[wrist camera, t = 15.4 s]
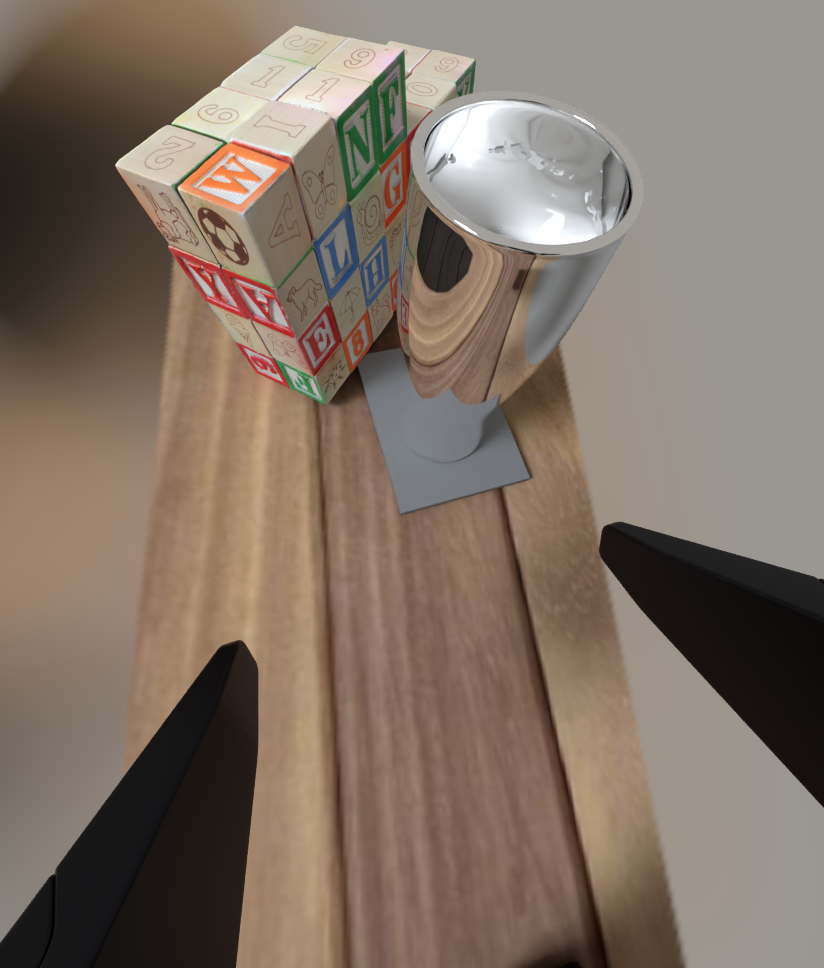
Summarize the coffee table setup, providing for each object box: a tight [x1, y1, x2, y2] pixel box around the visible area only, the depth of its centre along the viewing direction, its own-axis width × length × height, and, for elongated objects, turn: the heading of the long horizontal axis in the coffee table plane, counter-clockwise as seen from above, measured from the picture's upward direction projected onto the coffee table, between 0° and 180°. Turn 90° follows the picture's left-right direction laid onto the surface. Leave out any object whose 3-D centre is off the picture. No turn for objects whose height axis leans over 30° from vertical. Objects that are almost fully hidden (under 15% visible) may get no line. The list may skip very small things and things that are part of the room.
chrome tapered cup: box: [397, 91, 644, 462], centre depth 16 cm, size 7×7×15 cm
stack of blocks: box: [116, 26, 476, 405], centre depth 21 cm, size 21×6×12 cm, turn 152°
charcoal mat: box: [357, 348, 530, 515], centre depth 24 cm, size 12×9×1 cm
